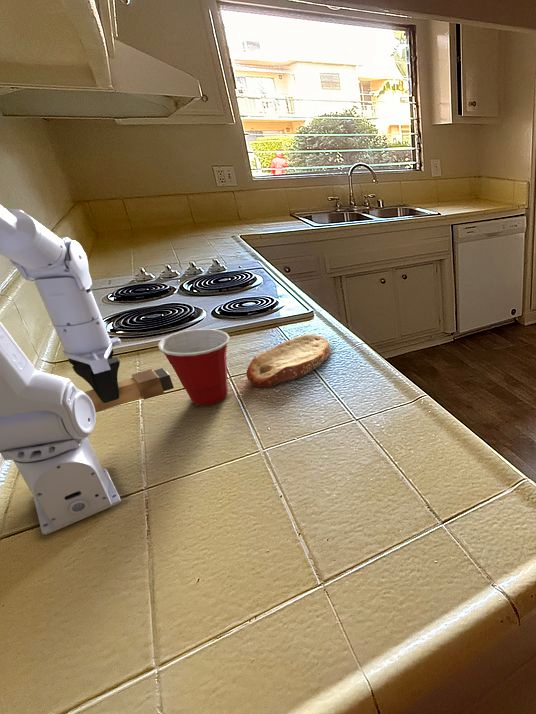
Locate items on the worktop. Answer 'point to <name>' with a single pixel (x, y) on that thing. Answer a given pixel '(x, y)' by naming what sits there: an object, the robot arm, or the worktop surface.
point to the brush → (136, 388)
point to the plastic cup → (199, 363)
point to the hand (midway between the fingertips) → (109, 397)
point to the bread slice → (288, 361)
